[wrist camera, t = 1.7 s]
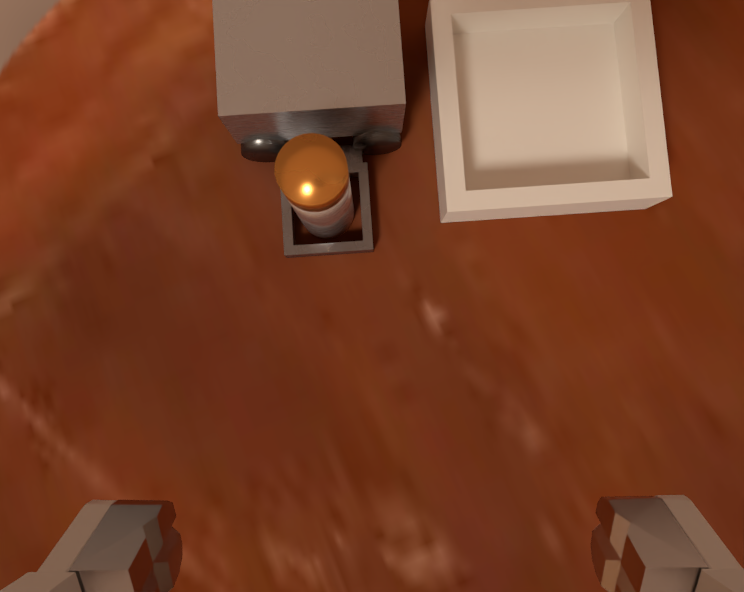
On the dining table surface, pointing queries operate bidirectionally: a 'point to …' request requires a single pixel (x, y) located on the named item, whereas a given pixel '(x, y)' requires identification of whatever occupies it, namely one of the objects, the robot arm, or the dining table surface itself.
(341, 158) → the jar with orange lid
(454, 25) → the tray
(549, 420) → the dining table surface
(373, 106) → the wheeled grey cart
